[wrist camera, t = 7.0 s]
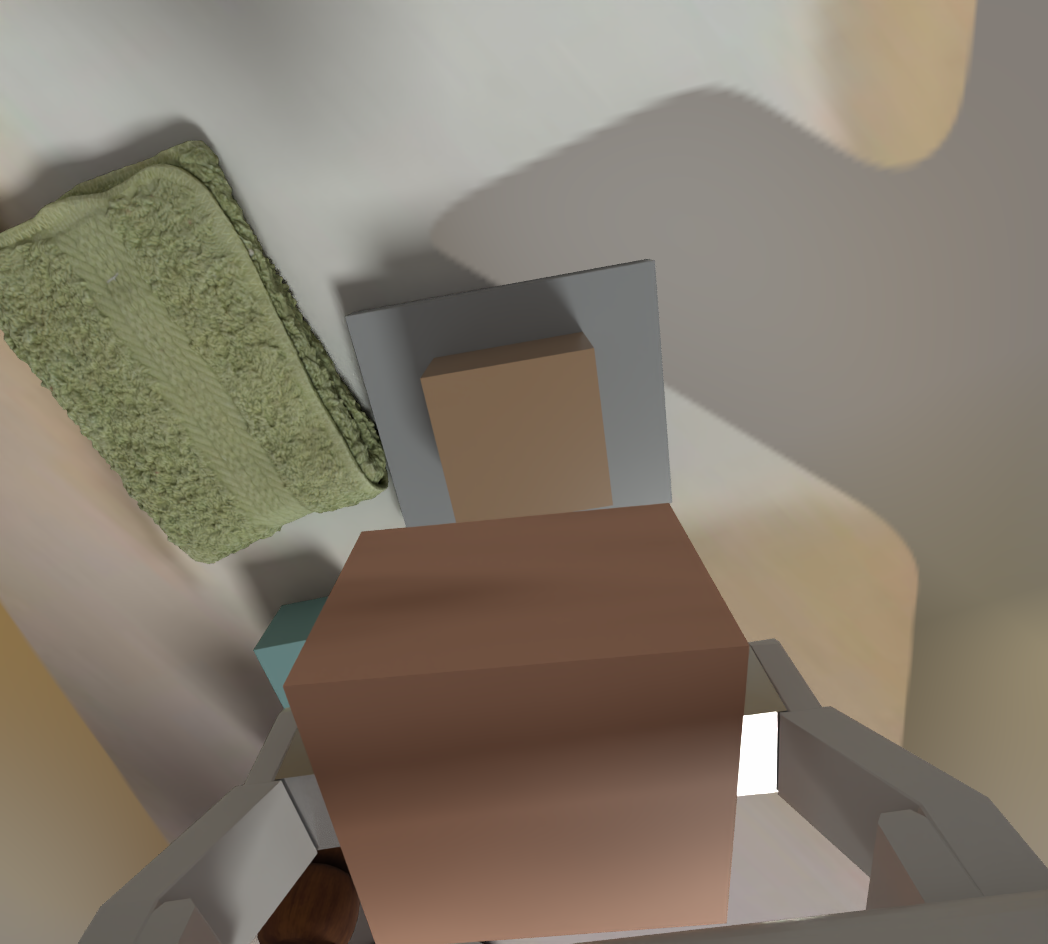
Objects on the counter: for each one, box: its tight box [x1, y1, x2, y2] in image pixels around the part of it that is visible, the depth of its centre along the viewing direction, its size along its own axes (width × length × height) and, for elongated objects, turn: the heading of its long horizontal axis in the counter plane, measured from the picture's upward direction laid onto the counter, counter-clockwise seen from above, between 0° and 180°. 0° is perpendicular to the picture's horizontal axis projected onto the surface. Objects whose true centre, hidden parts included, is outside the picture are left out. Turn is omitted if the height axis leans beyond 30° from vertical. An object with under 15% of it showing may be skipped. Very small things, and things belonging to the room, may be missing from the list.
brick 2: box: [283, 503, 749, 944], centre depth 10 cm, size 6×6×4 cm
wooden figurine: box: [258, 847, 360, 944], centre depth 31 cm, size 7×6×15 cm
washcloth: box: [0, 141, 389, 564], centre depth 26 cm, size 13×18×3 cm
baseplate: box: [345, 259, 672, 528], centre depth 26 cm, size 12×14×6 cm
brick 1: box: [253, 596, 329, 709], centre depth 32 cm, size 5×5×4 cm
